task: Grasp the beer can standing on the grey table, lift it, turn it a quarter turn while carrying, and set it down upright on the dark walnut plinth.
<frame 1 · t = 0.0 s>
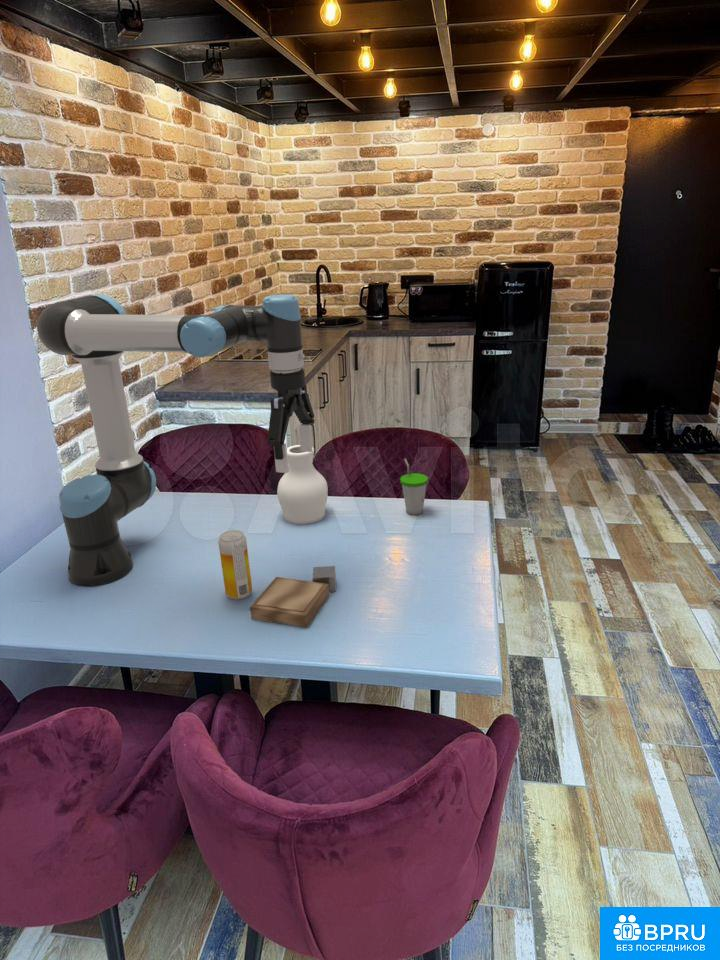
hand: (295, 461, 156), 28 cm above the table, fingers open, 13 cm apart
plinth: (291, 606, 151), on the table
beer can: (239, 594, 157), on the table
vase: (304, 515, 195), on the table
cup: (414, 512, 194), on the table
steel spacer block: (324, 586, 158), on the table
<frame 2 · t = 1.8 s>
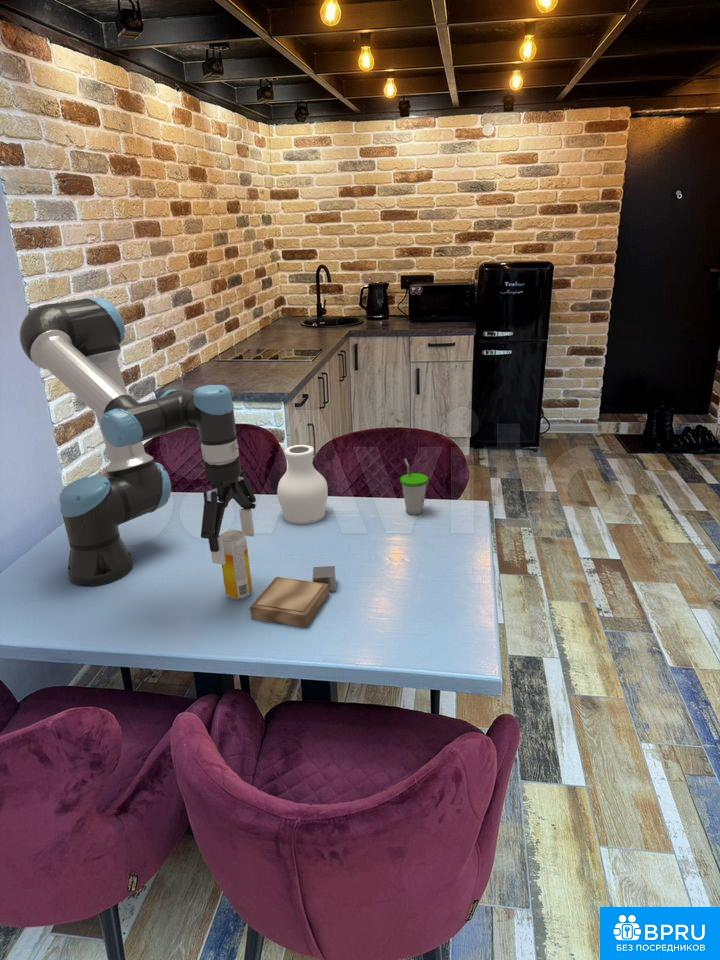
hand: (234, 548, 152), 12 cm above the table, fingers open, 13 cm apart
nothing on the table moved.
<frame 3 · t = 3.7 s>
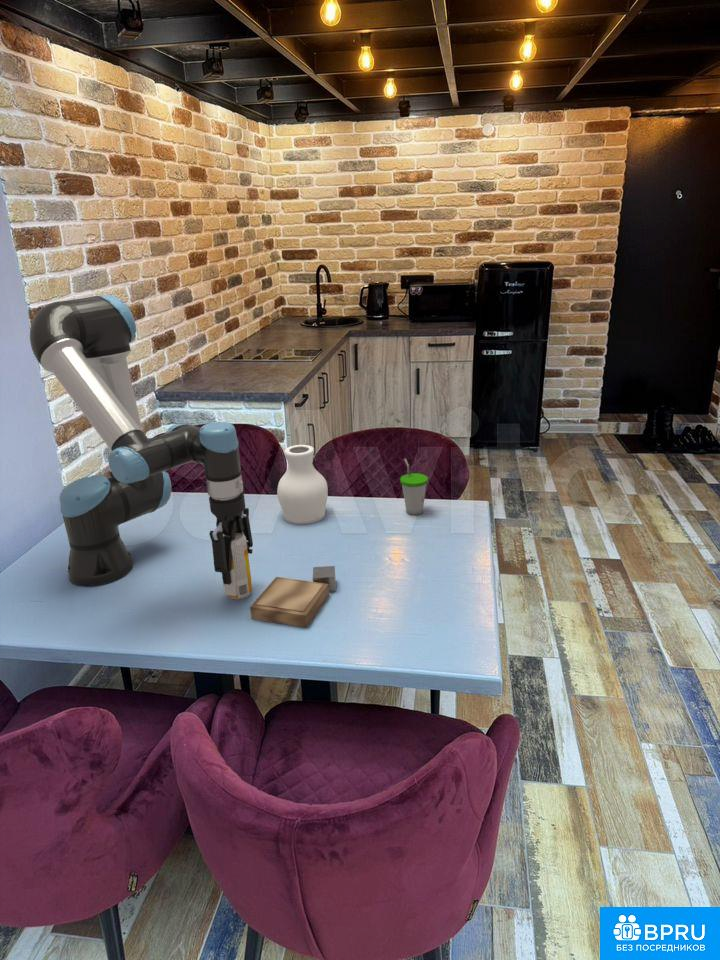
hand: (238, 586, 156), 2 cm above the table, fingers closed on beer can, 6 cm apart
beer can: (239, 594, 157), on the table, touching gripper
everything else where it was.
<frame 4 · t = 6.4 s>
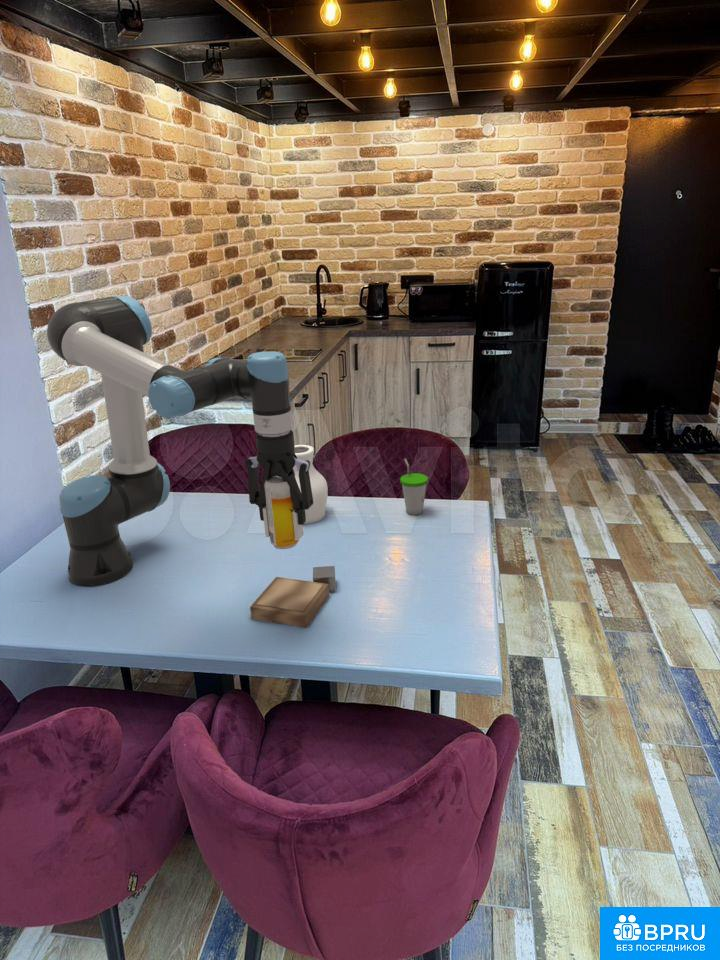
hand: (284, 535, 144), 18 cm above the table, fingers closed on beer can, 6 cm apart
beer can: (285, 544, 145), point 15 cm above the table, touching gripper
everything else where it was.
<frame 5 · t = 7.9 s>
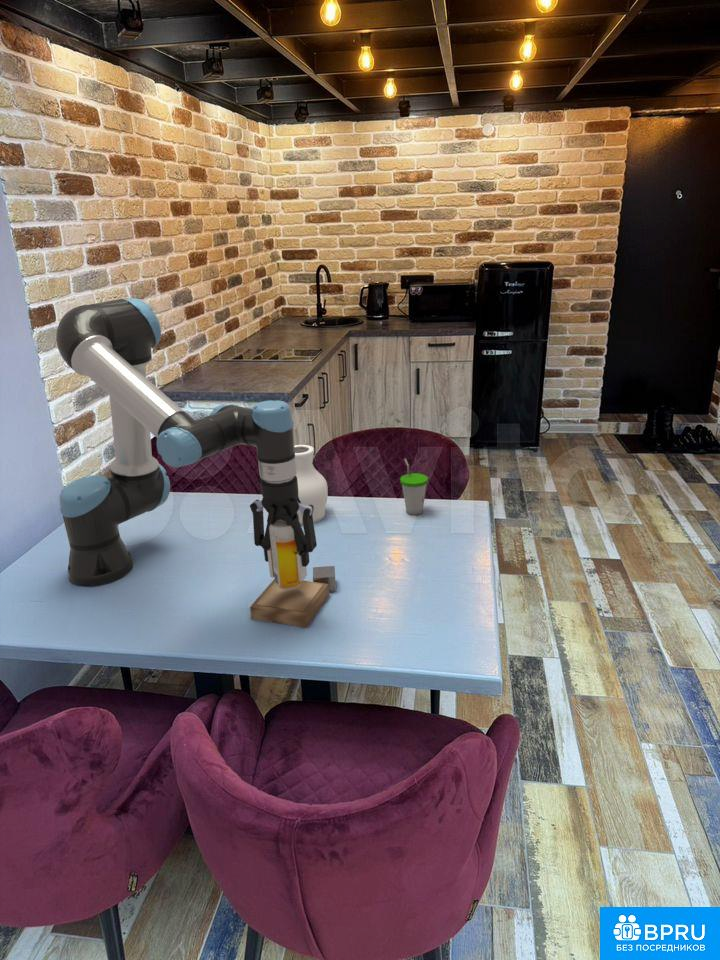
hand: (288, 576, 148), 8 cm above the table, fingers closed on beer can, 6 cm apart
beer can: (289, 584, 149), point 6 cm above the table, touching gripper
everything else where it was.
when the fingers open (6 cm above the table, at t = 9.0 s): beer can drops 1 cm, resting on plinth.
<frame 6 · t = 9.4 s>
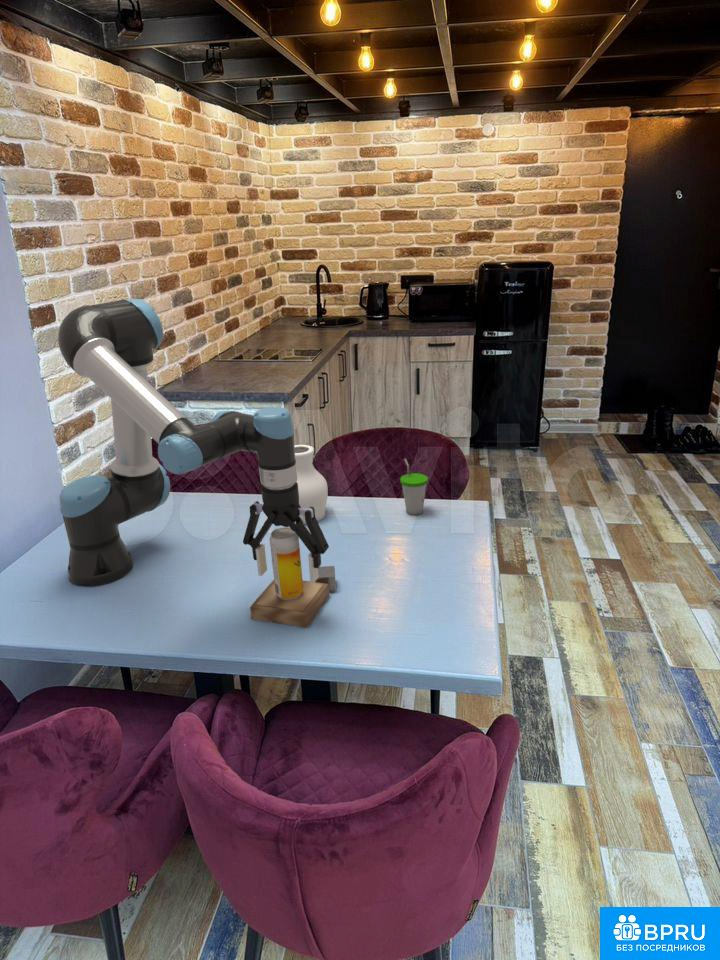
hand: (288, 576, 148), 8 cm above the table, fingers open, 11 cm apart
beer can: (290, 594, 150), point 3 cm above the table, touching plinth
everything else where it was.
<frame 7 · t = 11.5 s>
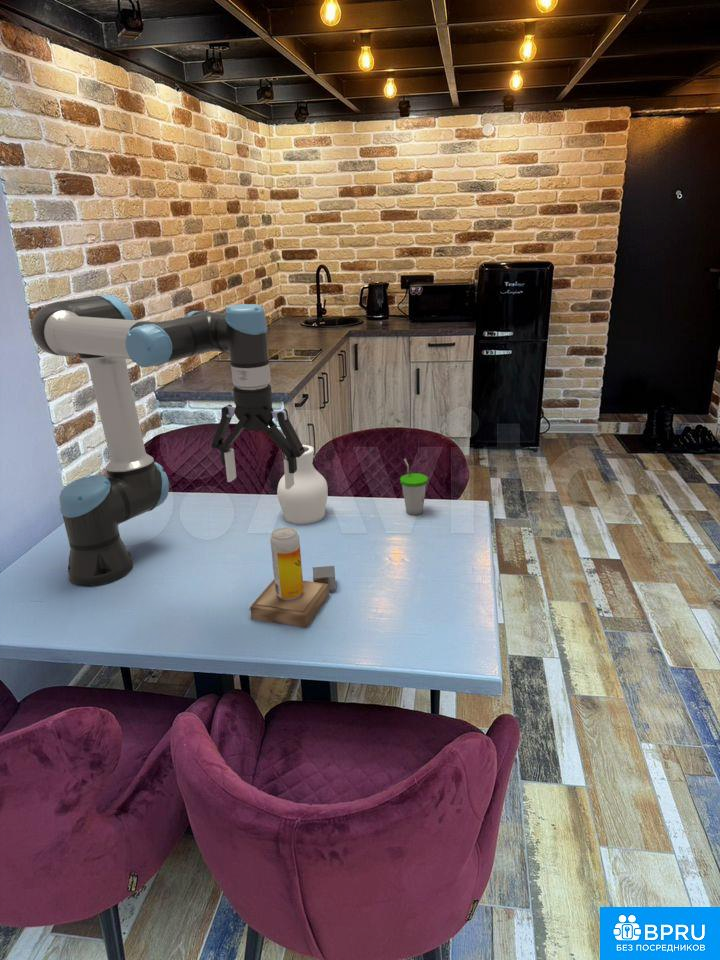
hand: (260, 483, 144), 28 cm above the table, fingers open, 13 cm apart
nothing on the table moved.
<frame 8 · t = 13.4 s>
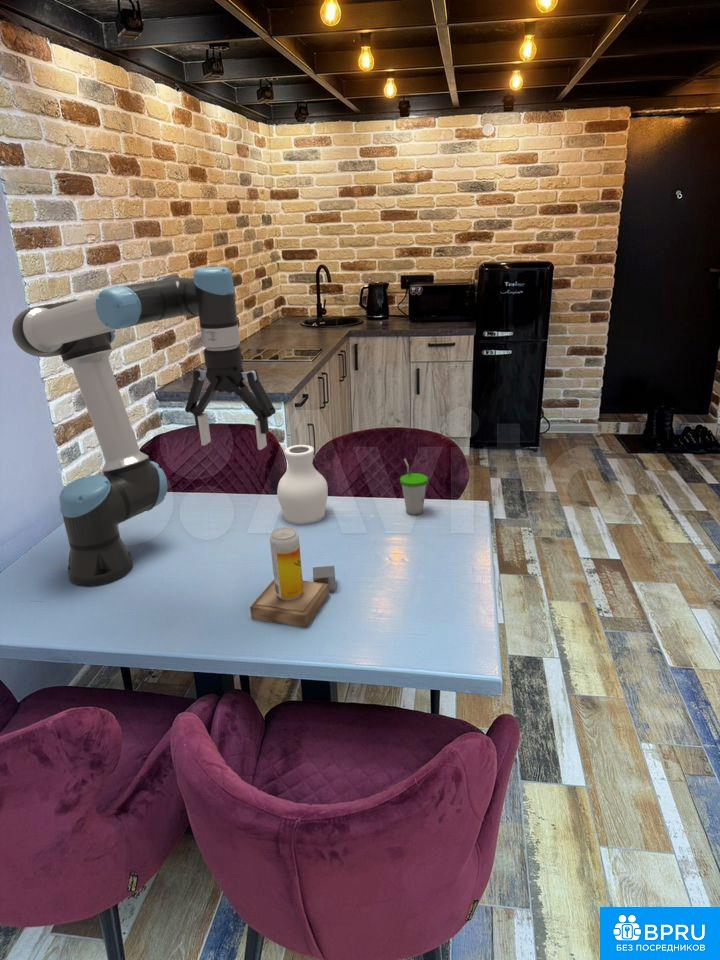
hand: (234, 445, 147), 35 cm above the table, fingers open, 13 cm apart
nothing on the table moved.
at the end: beer can inside the target area on the plinth (0.1 cm from its centre), point 3.1 cm above the plinth's base; beer can tilted 0°; the gripper is holding nothing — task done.
